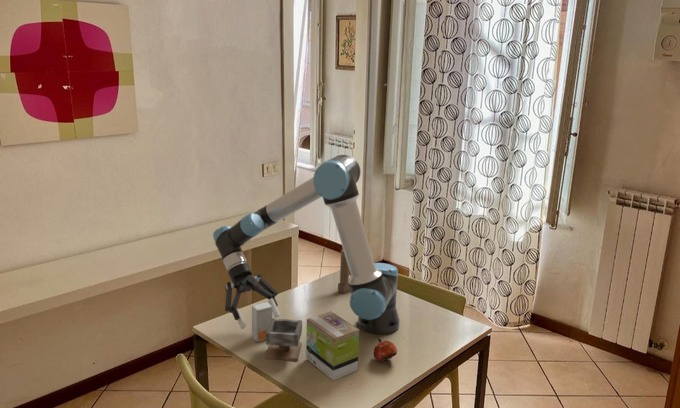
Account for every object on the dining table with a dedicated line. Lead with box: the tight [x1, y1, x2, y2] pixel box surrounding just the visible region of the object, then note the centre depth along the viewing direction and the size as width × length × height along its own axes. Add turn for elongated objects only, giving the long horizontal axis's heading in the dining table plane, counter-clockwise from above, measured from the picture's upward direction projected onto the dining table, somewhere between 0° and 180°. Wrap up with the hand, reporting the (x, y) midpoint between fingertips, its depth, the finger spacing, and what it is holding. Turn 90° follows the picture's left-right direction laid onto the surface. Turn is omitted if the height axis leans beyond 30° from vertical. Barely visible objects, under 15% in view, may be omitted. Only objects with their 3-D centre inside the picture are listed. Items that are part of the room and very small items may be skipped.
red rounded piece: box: [373, 337, 398, 368], centre depth 177 cm, size 7×7×10 cm
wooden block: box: [337, 249, 351, 294], centre depth 229 cm, size 4×11×18 cm, turn 135°
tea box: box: [305, 310, 360, 381], centre depth 172 cm, size 15×10×15 cm
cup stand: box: [265, 318, 303, 362], centre depth 180 cm, size 10×10×9 cm
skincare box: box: [251, 301, 273, 343], centre depth 188 cm, size 6×4×12 cm
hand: (261, 322), depth 188 cm, fingers open, 13 cm apart
